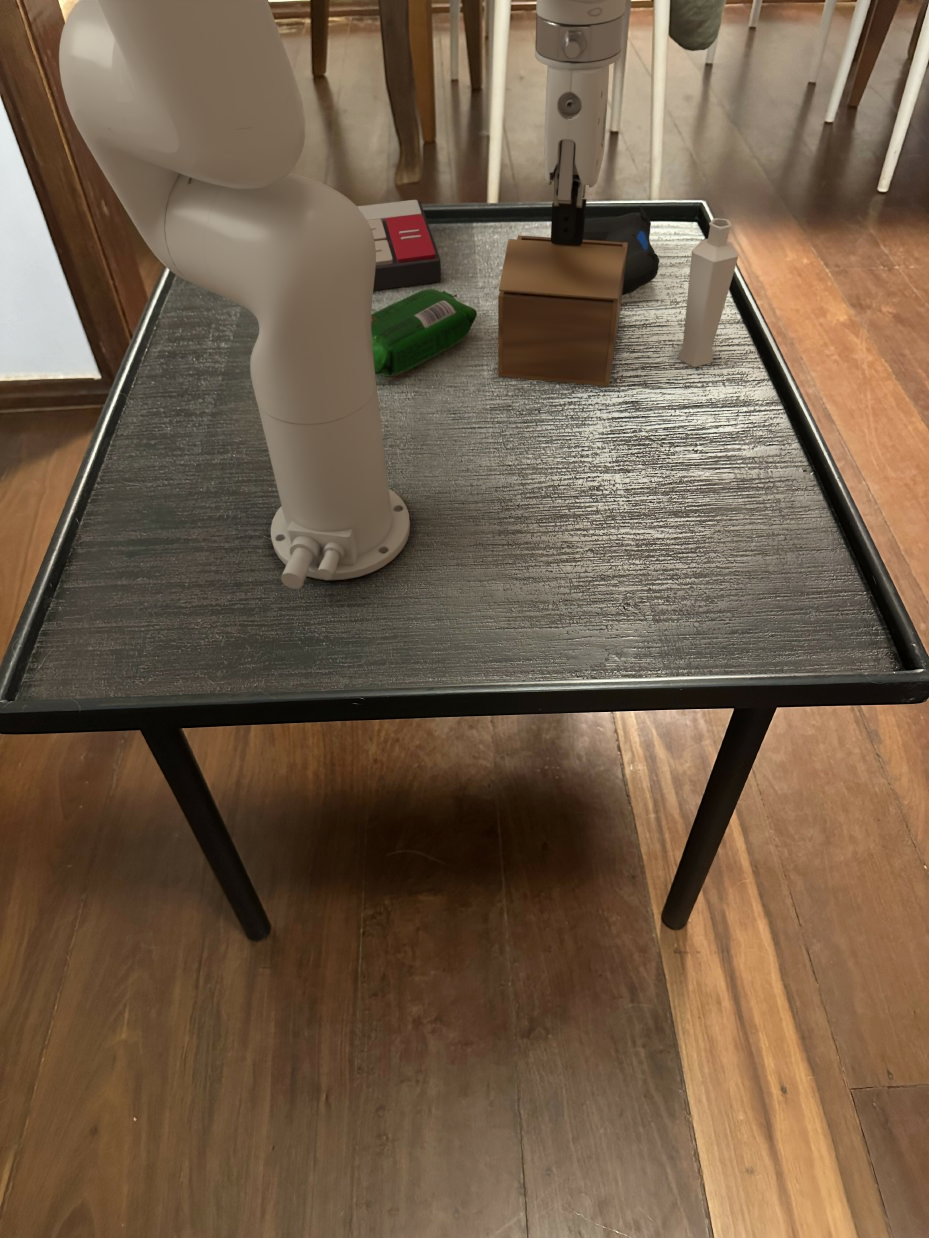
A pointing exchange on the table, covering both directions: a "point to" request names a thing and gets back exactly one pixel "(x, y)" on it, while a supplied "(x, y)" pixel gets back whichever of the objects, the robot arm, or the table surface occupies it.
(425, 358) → the snack package
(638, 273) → the gaming controller
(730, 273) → the perfume bottle
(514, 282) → the flap
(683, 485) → the table surface
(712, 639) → the table surface
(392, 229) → the calculator
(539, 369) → the open wooden box
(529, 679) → the table surface
